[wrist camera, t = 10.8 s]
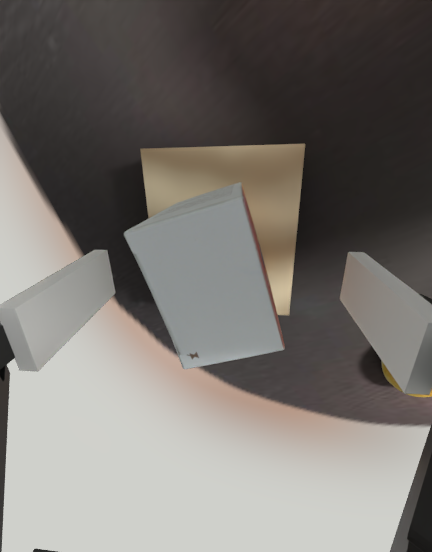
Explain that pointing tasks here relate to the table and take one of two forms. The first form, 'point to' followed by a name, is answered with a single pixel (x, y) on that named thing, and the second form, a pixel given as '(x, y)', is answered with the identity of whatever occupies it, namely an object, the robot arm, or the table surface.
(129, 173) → the table surface
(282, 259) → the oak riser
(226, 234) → the small box
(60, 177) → the table surface
